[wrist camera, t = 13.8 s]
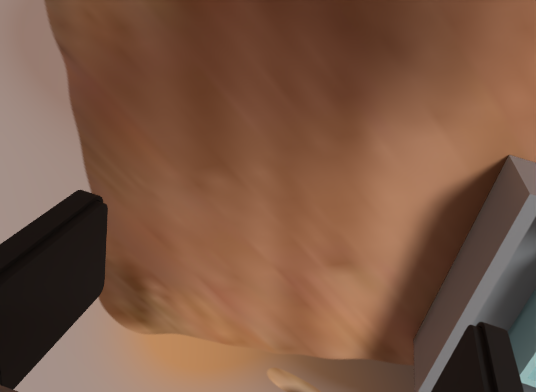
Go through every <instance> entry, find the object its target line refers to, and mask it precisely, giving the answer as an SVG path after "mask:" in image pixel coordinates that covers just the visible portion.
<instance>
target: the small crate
mask: <svg viewBox="0 0 536 392" xmlns="http://www.w3.org/2000/svg"><path fill="white" fill-rule="evenodd" d="M508 334H509V338H510V342H511V346H512V349H513V353H514V357H515V360H516V364H517V368H518V371H519V375H520V379H521V383H524V384H527V385H530V386H533V387H535V388H536V289H535V290H534V292H533V293H532V295H531V297H530V298H529V300H528V301H527V303H526V304H525V306H524V308H523V309H522V311H521V312H520V314H519V315H518V317H517V319H516V320H515V322H514V323H513V325H512V326H511V328H510V330H509V331H508Z"/></svg>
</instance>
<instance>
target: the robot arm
mask: <svg viewBox="0 0 536 392" xmlns="http://www.w3.org/2000/svg"><path fill="white" fill-rule="evenodd" d="M107 213H108V208H107V205H106V204H105V203H103V199H102V197H100V196H98V195H95V194H92V193H89V192H86V191H83V190H78V191H76V192H74V193H73V194H71V195H70V196H69V197H67V198H66V199H64V200H63V201H62V202H60V203H59V204H57V205H56V206H54V207H53V208H51V209H50V210H49V211H47V212H46V213H44V214H43V215H42V216H40V217H39V218H37V219H36V220H34V221H33V222H31V223H30V224H29V225H27V226H26V227H24V228H23V229H21V230H20V231H19V232H17V233H16V234H14V235H13V236H12V237H10V238H9V239H7V240H6V241H4V242H3V243H2V244H0V392H18V391H15V390H13V389H14V388H15V387H16V386H17V385H18V384H19V383H20V382H21V381H22V380H23V378H24V377H25V376H26V375H27V374H28V373H29V372H30V371H31V370H32V369H33V367H34V366H35V365H36V364H37V363H38V362H39V361H40V360H41V359H42V358H43V357H44V355H45V354H46V353H47V352H48V351H49V350H50V349H51V348H52V347H53V346H54V344H55V343H56V342H57V341H58V340H59V339H60V338H61V337H62V336H63V335H64V334H65V332H66V331H67V330H68V329H69V328H70V327H71V326H72V325H73V324H74V323H75V321H77V319H78V318H79V317H80V316H81V315H82V314H83V313H84V312H85V311H86V309H88V307H89V306H90V305H91V304H92V303H93V302H94V301H95V300H96V299H97V298H98V296H99V295H100V294H101V292H102V290H103V287H104V279H105V257H106V235H107ZM431 392H524V390H523V386H522V383H521V379H520V375H519V371H518V368H517V364H516V360H515V357H514V353H513V349H512V346H511V342H510V338H509V334H508V332H507V331H506V330H505V329H503V328H500V327H497V326H493V325H490V324H487V323H484V322H479V323H478V324H477V325H476V326H474V325H469V326H468V327H467V328H466V330H465V332H464V333H463V335H462V337H461V339H460V341H459V342H458V344H457V346H456V348H455V350H454V351H453V353H452V355H451V357H450V358H449V360H448V362H447V364H446V366H445V367H444V369H443V371H442V373H441V375H440V376H439V378H438V380H437V382H436V383H435V385H434V387H433V389H432V391H431Z"/></svg>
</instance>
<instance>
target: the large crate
mask: <svg viewBox="0 0 536 392" xmlns="http://www.w3.org/2000/svg"><path fill="white" fill-rule="evenodd" d="M535 289H536V163H535V162H531V161H528V160H525V159H521V158H518V157H514V156H511V155H509V156H508V158H507V160H506V162H505V164H504V166H503V168H502V170H501V171H500V173H499V175H498V177H497V179H496V181H495V183H494V185H493V187H492V189H491V191H490V193H489V195H488V197H487V199H486V201H485V202H484V204H483V206H482V208H481V210H480V212H479V214H478V216H477V218H476V220H475V222H474V224H473V226H472V228H471V230H470V232H469V233H468V235H467V237H466V239H465V241H464V243H463V245H462V247H461V249H460V251H459V253H458V255H457V257H456V259H455V261H454V263H453V264H452V266H451V268H450V270H449V272H448V274H447V276H446V278H445V280H444V282H443V284H442V286H441V288H440V290H439V292H438V294H437V295H436V297H435V299H434V301H433V303H432V305H431V307H430V309H429V311H428V313H427V315H426V317H425V319H424V321H423V323H422V325H421V326H420V328H419V330H418V332H417V334H416V336H415V338H414V385H415V386H414V387H415V392H431V391H432V389H433V387H434V385H435V383H436V382H437V380H438V378H439V376H440V375H441V373H442V371H443V369H444V367H445V366H446V364H447V362H448V360H449V358H450V357H451V355H452V353H453V351H454V350H455V348H456V346H457V344H458V342H459V341H460V339H461V337H462V335H463V333H464V332H465V330H466V328H467V327H468V326H469V325H474V326H476V325H477V324H478V323H479V322H484V323H487V324H490V325H493V326H497V327H500V328H503V329H505V330H506V331H507V332H508V331H509V330H510V328H511V326H512V325H513V323H514V322H515V320H516V319H517V317H518V315H519V314H520V312H521V311H522V309H523V308H524V306H525V304H526V303H527V301H528V300H529V298H530V297H531V295H532V293H533V292H534V290H535ZM522 386H523V390H524V392H536V388H535V387H533V386H530V385H527V384H524V383H522Z"/></svg>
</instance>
